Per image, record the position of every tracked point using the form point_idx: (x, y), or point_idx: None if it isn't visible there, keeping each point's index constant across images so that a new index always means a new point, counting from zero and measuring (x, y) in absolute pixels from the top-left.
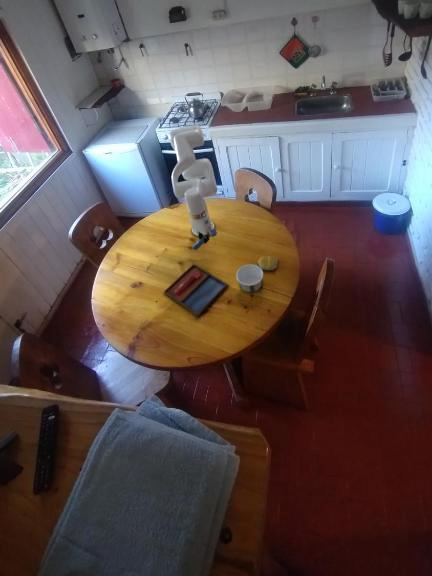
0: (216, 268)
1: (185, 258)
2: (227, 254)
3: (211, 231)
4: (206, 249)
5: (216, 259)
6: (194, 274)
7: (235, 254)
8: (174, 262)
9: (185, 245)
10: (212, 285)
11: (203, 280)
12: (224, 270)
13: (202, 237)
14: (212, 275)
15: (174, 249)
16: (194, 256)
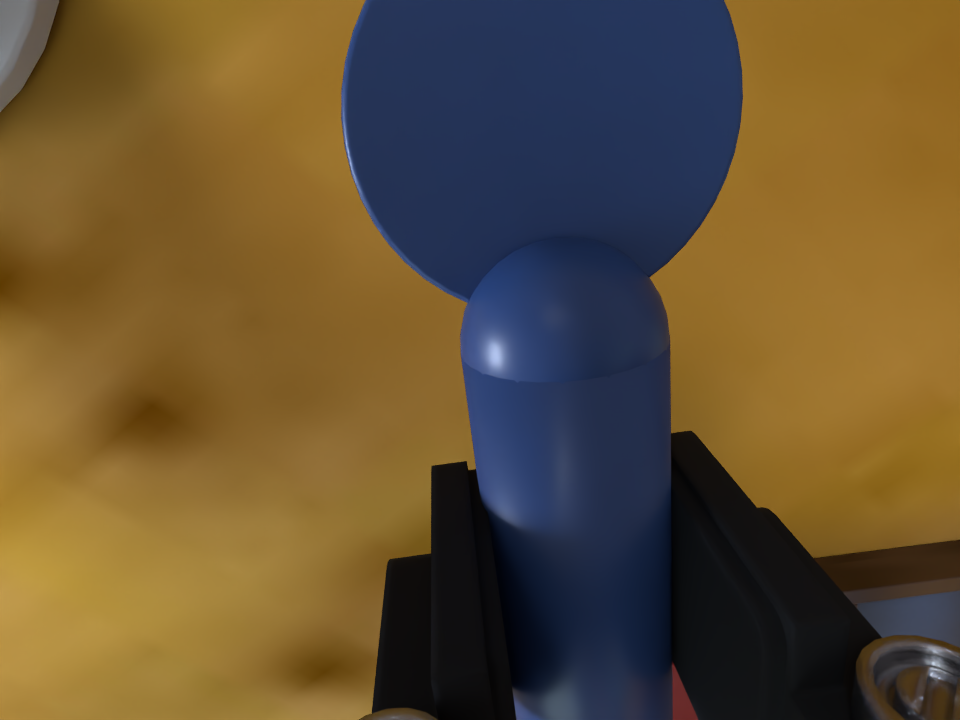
0: (812, 429)
1: (296, 589)
2: (787, 107)
3: (500, 124)
4: (388, 272)
5: (696, 314)
6: (677, 714)
7: (920, 3)
8: (247, 709)
9: (34, 442)
10: (955, 638)
11: None
12: (940, 380)
13: (556, 660)
14: (907, 588)
15: (2, 593)
16: (364, 489)
